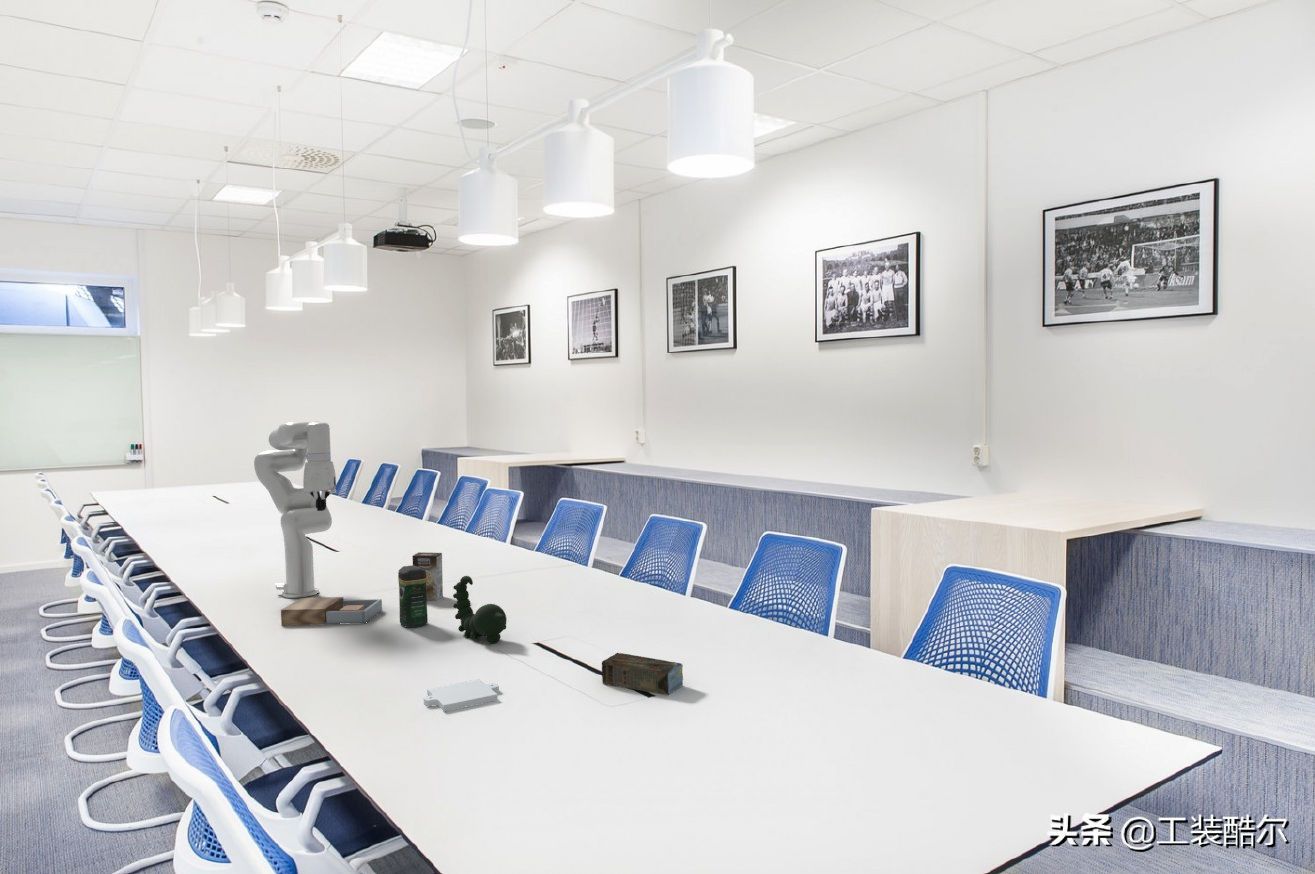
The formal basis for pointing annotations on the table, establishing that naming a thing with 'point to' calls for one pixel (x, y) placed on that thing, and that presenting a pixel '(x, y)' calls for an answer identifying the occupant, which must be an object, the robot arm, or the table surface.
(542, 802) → the table surface
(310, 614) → the platform
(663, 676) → the dark brown boxy piece
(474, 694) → the mounting plate
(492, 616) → the toy figurine
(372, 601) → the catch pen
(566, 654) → the table surface
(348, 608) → the block
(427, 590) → the coffee box
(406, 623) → the coffee jar
